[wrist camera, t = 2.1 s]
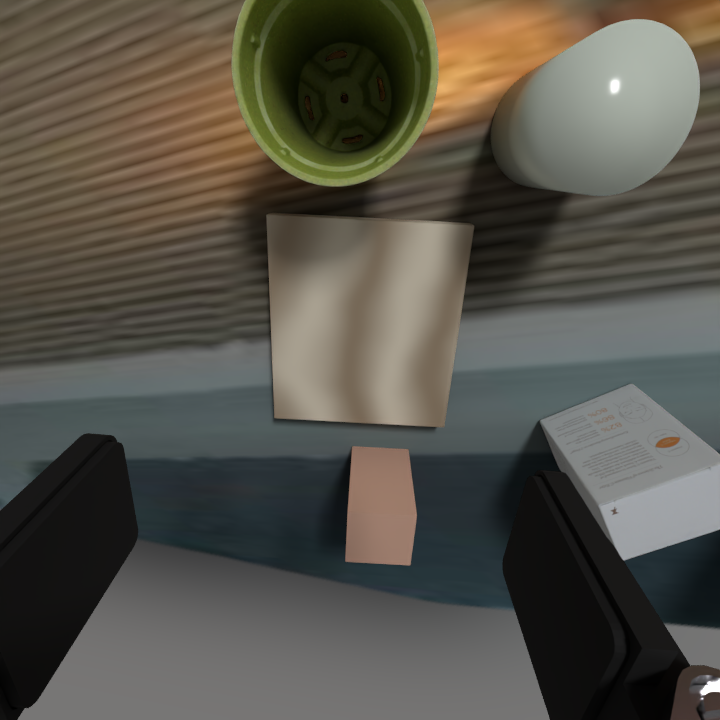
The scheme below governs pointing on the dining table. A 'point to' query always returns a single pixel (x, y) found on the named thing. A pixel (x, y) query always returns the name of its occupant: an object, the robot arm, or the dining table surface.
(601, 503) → the small box
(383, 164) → the plant pot
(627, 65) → the pale rounded smooth block
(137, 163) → the dining table surface
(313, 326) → the board
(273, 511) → the dining table surface
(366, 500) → the block
